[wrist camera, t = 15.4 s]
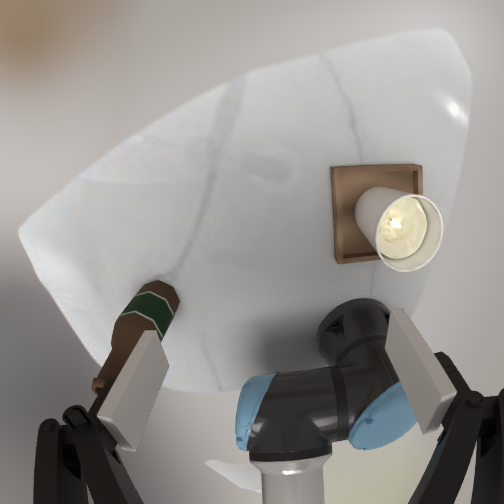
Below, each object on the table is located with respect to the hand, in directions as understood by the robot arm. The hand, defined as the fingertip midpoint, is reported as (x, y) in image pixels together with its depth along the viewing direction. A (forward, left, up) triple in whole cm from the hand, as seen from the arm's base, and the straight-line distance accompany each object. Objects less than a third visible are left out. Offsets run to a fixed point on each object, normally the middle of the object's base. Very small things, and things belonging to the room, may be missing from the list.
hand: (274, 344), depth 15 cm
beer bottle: (-13, +21, -31) cm, 40 cm away
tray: (-1, -17, -31) cm, 35 cm away
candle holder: (-1, -17, -30) cm, 35 cm away
